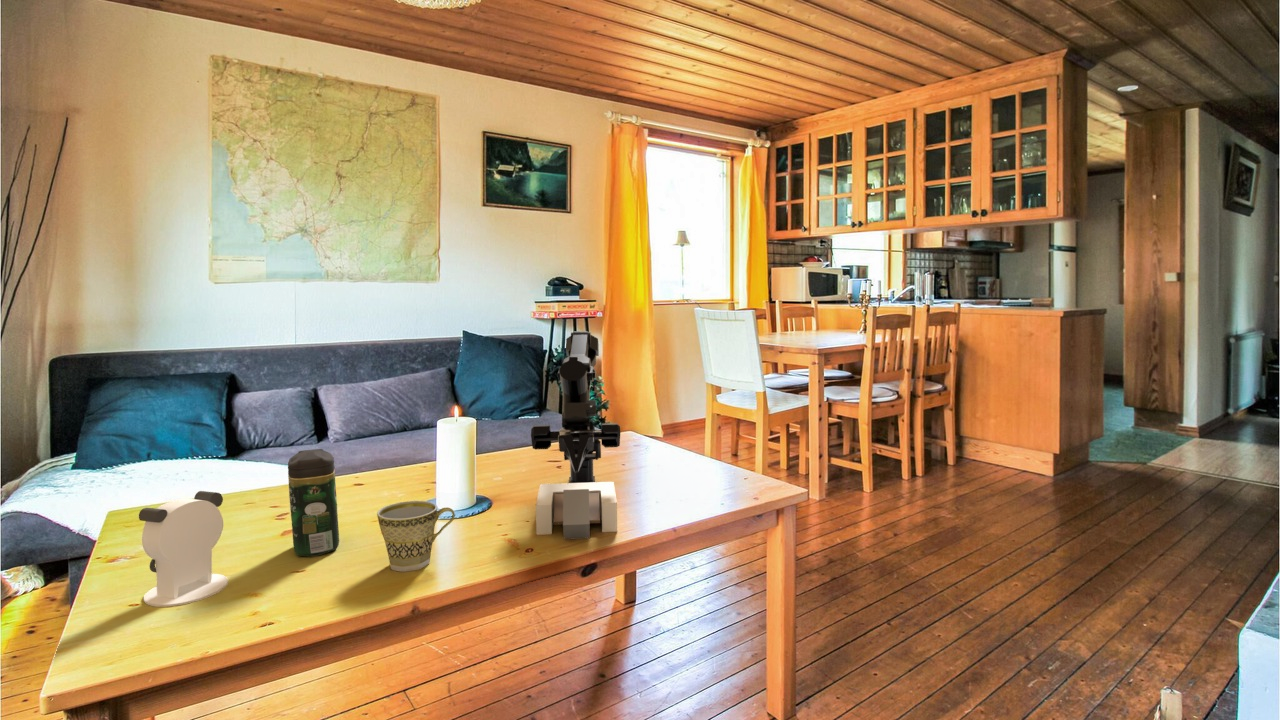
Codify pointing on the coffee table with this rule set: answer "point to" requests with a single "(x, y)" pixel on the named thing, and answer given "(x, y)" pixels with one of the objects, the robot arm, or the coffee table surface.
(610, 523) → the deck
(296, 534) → the coffee jar
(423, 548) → the ceramic cup
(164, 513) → the panda figurine
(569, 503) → the stone
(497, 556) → the coffee table surface
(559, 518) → the trapdoor
